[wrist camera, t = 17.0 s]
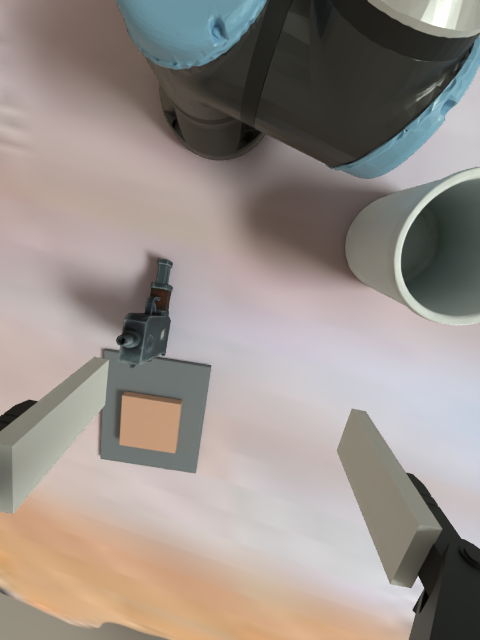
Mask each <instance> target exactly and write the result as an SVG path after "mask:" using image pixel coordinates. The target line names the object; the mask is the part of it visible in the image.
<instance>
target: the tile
mask: <svg viewBox="0 0 480 640" xmlns="http://www.w3.org/2000/svg"><path fill="white" fill-rule="evenodd" d="M182 401H183V400H178V399H172V398H165V397H159V396H152V395H146V394H140V393H133V392H127V391H125V392H124V394H123V395H122V407H121V425H120V443H119V445H123V446H130V447H136V448H143V449H149V450H156V451H162V452H169V453H175V452H176V449H177V443H178V435H179V427H180V418H181V410H182Z"/></svg>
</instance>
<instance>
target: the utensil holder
mask: <svg viewBox="0 0 480 640" xmlns="http://www.w3.org/2000/svg"><path fill="white" fill-rule="evenodd" d="M345 254H346V259H347V262H348V265H349V267H350V269H351V271H352V272H353V274H354V275H355V276H356V277H357V278H358V279H359V280H360V281H361V282H363V283H364V284H366V285H368V286H370V287H371V288H373V289H375V290H376V291H378V292H380V293H382V294H384V295H386V296H388V297H390V298H392V299H394V300H396V301H397V302H399V303H401V304H403V305H405V306H407V307H408V308H409V309H410V310H411V311H413V312H414V313H416V314H417V315H419V316H421V317H423V318H425V319H428V320H430V321H433V322H437V323H441V324H446V325H470V324H476V323H480V167H475V168H471V169H466V170H463V171H460V172H457V173H454V174H452V175H449V176H447V177H445V178H443V179H441V180H437V181H434V182H430V183H427V184H423V185H420V186H416V187H412V188H409V189H405V190H402V191H399V192H396V193H393V194H390V195H388V196H385V197H382V198H380V199H378V200H376V201H374V202H372V203H370V204H369V205H368V206H366V207H365V208H364V209H363V210H362V211H361V212H360V213H359V214H358V215H357V216H356V218H355V219H354V220H353V222H352V224H351V226H350V228H349V230H348V233H347V237H346V242H345Z"/></svg>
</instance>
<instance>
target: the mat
mask: <svg viewBox="0 0 480 640" xmlns="http://www.w3.org/2000/svg"><path fill="white" fill-rule="evenodd" d="M118 357H119V351H116V350H110V349H106V350H105V351H104V359H108V360H109V366H108V377H107V388H106V400H105V406H104V407H103V408H102V431H101V459H105V460H112V461H118V462H125V463H131V464H138V465H144V466H151V467H157V468H164V469H171V470H177V471H184V472H190V473H196V468H197V461H198V454H199V447H200V440H201V433H202V426H203V420H204V413H205V406H206V399H207V392H208V385H209V378H210V371H211V365H204V364H198V363H192V362H185V361H179V360H173V359H166V358H160V357H155V358H153V359H152V362H145V363H143V364H141V365H136V366H135V367H134V368H130V367H129V364H128V363H123V362H118ZM125 391H127V392H133V393H140V394H146V395H152V396H159V397H165V398H172V399H178V400H183V401H182V410H181V418H180V427H179V435H178V443H177V449H176V452H175V453H169V452H162V451H156V450H149V449H143V448H136V447H130V446H123V445H119V443H120V425H121V407H122V395H123V394H124V392H125Z"/></svg>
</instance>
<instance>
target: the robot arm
mask: <svg viewBox="0 0 480 640" xmlns="http://www.w3.org/2000/svg"><path fill="white" fill-rule="evenodd" d="M116 2H117V5H118V7H119V9H120V11H121V14H122V16H123V18H124V21H125V23H126V26H127V30H128V33H129V35H130V37H131V39H132V41H133V42H134V44H135V45H136V46H137V47H138V49H139V51H141V52H142V53H143V55H144V57H145V58H146V60H147V62H148V63H149V65H150V67H151V68H152V70H153V72H154V73H155V75H156V77H157V79H158V80H159V82H160V85H159V87H160V99H161V104H162V108H163V111H164V114H165V117H166V119H167V122H168V123H169V125H170V127H171V129H172V130H173V132H174V133H175V135H176V136H177V137H178V139H179V140H180V141H181V142H182V143H183V144H184V145H185V146H186V147H187V148H188V149H189V150H191V151H192V152H194V153H195V154H197V155H199V156H202V157H204V158H207V159H212V160H229V159H233V158H236V157H239V156H241V155H243V154H245V153H247V152H248V151H250V150H251V149H252V148H254V147H255V146H256V145H257V144H258V143H259V142H260V140H261V139H262V138H263V136H264V135H265V134H266V135H268V136H270V137H272V138H274V139H277V140H279V141H281V142H283V143H285V144H287V145H289V146H291V147H293V148H295V149H297V150H299V151H301V152H303V153H305V154H307V155H309V156H311V157H313V158H315V159H317V160H319V161H321V162H323V163H325V164H326V166H327V167H329V168H331V169H335V170H342V171H344V172H346V173H349V174H351V175H353V176H356V177H358V178H364V179H370V178H376V177H379V176H381V175H384V174H386V173H388V172H390V171H391V170H393V169H395V168H396V167H397V166H399V165H400V164H401V163H403V162H404V161H405V160H407V159H408V158H409V157H410V156H411V155H413V154H414V153H415V152H416V151H417V150H418V149H419V148H420V147H421V146H422V145H423V144H424V143H425V142H426V141H427V140H428V139H429V138H430V137H431V136H432V135H433V134H434V133H435V131H436V130H437V129H438V128H439V127H440V126H441V124H442V123H443V122H444V120H445V115H446V113H447V112H448V111H449V110H450V109H451V108H452V107H454V106H455V105H456V104H457V103H458V102H459V101H460V99H461V98H462V96H463V95H464V93H465V92H466V90H467V89H468V87H469V85H470V84H471V82H472V80H473V78H474V76H475V74H476V72H477V70H478V68H479V65H480V0H116ZM108 366H109V360H108V359H103V358H98V357H94V358H92V359H91V360H90V361H89V362H87V363H86V364H85V365H84V366H82V367H81V368H80V369H79V370H77V371H76V372H75V373H73V374H72V375H71V376H70V377H68V378H67V379H66V380H65V381H63V382H62V383H61V384H60V385H58V386H57V387H56V388H55V389H53V390H52V391H51V392H50V393H48V394H47V395H46V396H44V397H43V398H42V399H41V400H39V401H33V400H27V401H25V402H22V403H20V404H17V405H15V406H13V407H12V408H11V409H9V410H8V411H7V412H5V413H4V415H1V416H0V512H5V513H11V514H13V513H14V512H15V511H16V510H17V508H18V507H19V506H20V505H21V504H22V503H23V501H24V500H25V499H26V498H27V497H28V495H29V494H30V493H31V492H32V491H33V490H34V488H35V487H36V486H37V485H38V484H39V482H40V481H41V480H42V479H43V478H44V477H45V475H46V474H47V473H48V472H49V471H50V469H51V468H52V467H53V466H54V465H55V464H56V462H57V461H58V460H59V459H60V458H61V456H62V455H63V454H64V453H65V452H66V451H67V449H68V448H69V447H70V446H71V445H72V443H73V442H74V441H75V440H76V439H77V438H78V436H79V435H80V434H81V433H82V432H83V430H84V429H85V428H86V427H87V426H88V425H89V423H90V422H91V421H92V420H93V419H94V417H95V416H96V415H97V414H98V413H99V412H100V410H101V409H102V408H103V407H104V406H105V400H106V388H107V377H108ZM337 452H338V455H339V457H340V460H341V462H342V465H343V467H344V470H345V472H346V475H347V477H348V480H349V482H350V485H351V487H352V490H353V492H354V495H355V497H356V500H357V502H358V505H359V507H360V510H361V512H362V515H363V517H364V520H365V522H366V525H367V527H368V530H369V532H370V535H371V537H372V540H373V542H374V545H375V547H376V550H377V552H378V555H379V557H380V560H381V562H382V565H383V567H384V570H385V572H386V575H387V577H388V580H389V582H390V584H393V585H398V586H403V587H409V588H412V586H413V584H414V582H415V580H416V578H417V577H418V576H419V578H420V580H421V582H422V584H423V586H424V590H423V592H422V593H421V595H420V597H419V599H418V601H417V603H416V605H415V606H414V608H413V611H414V612H415V613H416V614H415V618H414V622H413V626H412V630H411V633H410V637H409V640H480V549H479V548H478V547H476V546H475V545H474V544H472V543H470V542H468V541H466V540H464V539H461V538H460V536H459V535H458V533H457V532H456V530H455V529H454V527H453V526H452V525H451V523H450V522H449V520H448V519H447V517H446V516H445V514H444V513H443V512H442V510H441V509H440V507H438V504H437V503H436V501H435V500H434V499H433V498H432V497H431V494H430V493H429V491H428V490H427V488H426V487H425V486H424V484H423V483H422V482H421V481H419V480H418V479H417V478H416V477H415V476H414V475H413V474H410V473H406V472H405V471H404V469H403V468H402V466H401V465H400V463H399V462H398V460H397V459H396V457H395V456H394V454H393V452H392V451H391V449H390V448H389V446H388V445H387V443H386V442H385V440H384V439H383V437H382V436H381V434H380V433H379V431H378V429H377V428H376V426H375V425H374V423H373V422H372V420H371V419H370V417H369V416H368V414H367V413H366V411H361V410H356V409H352V410H351V412H350V415H349V418H348V421H347V424H346V426H345V429H344V432H343V435H342V438H341V440H340V443H339V446H338V449H337Z"/></svg>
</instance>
